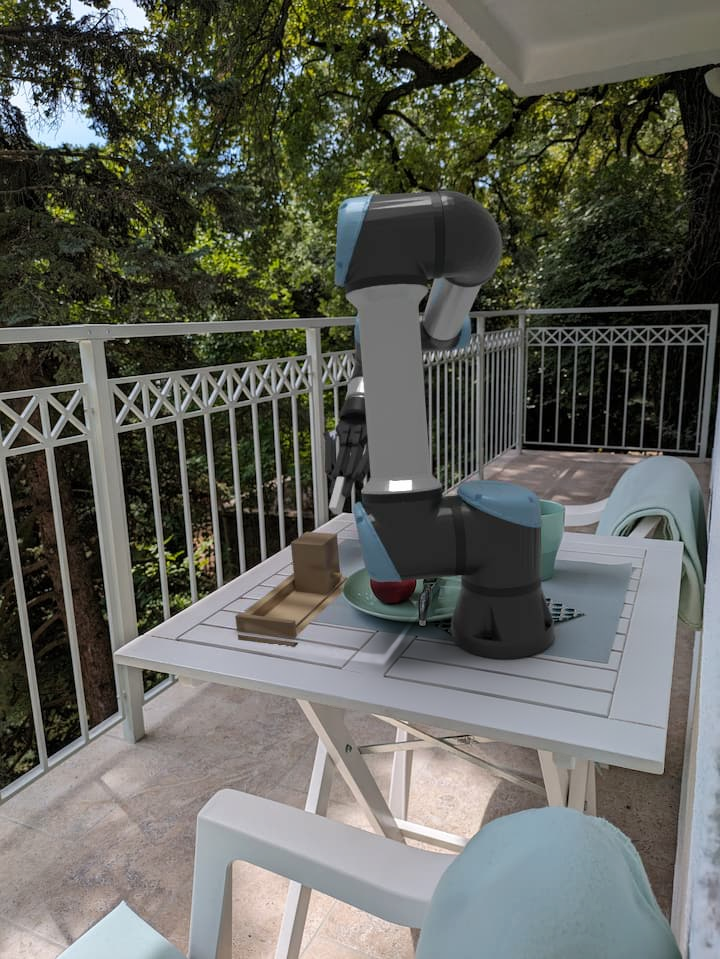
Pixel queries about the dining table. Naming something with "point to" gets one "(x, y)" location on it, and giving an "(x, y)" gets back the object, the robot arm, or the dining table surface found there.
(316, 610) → the brown wooden tray
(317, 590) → the brown wooden block
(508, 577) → the robot arm
